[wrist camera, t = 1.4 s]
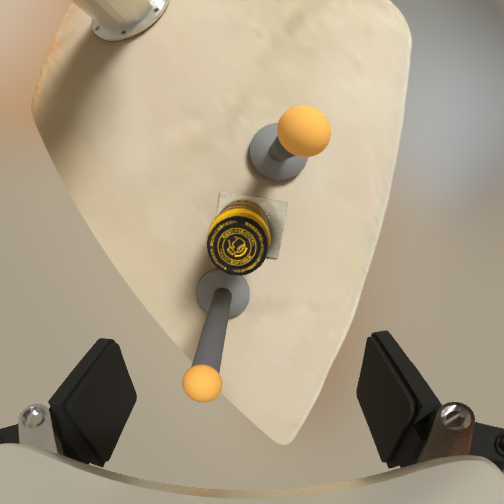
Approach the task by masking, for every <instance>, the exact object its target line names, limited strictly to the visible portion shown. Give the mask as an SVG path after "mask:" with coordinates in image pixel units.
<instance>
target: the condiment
mask: <svg viewBox="0 0 504 504" xmlns="http://www.w3.org/2000/svg"><path fill="white" fill-rule="evenodd" d="M287 205H288V202H282V201H277V200H271V199H264V198H258V197H252V196H246V195H239V194H232V193H225V192H220V195H219V203H218V210H217V217H216V218H215V219H214V221H213V222H212V224H211V226H210V229H209V233H208V241H207V249H208V253H209V256H210V258H211V260H212V262H213V263H214V265H215V266H216V267H217V268H219V269H220V270H222V271H223V272H225V273H227V274H230V275H246V274H249V273H251V272H253V271H254V270H256V269H257V268H258V267H260V266H261V265H262V263H263V262H264V260H265V258H266V257H270V258H277V259H278V255H279V249H280V243H281V238H282V232H283V226H284V222H285V216H286V210H287ZM266 213H267V214H268V215H266ZM268 216H270V218H269V217H268Z"/></svg>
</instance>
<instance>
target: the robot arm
mask: <svg viewBox="0 0 504 504" xmlns="http://www.w3.org/2000/svg"><path fill="white" fill-rule="evenodd" d="M70 1H71V2H73V3H74V4H75V5H77V6H78V7H79V8H80V9H82V10H83V11H84V12H86V13H87V14H88V15H89V16H91V17H92V29H93V31H94V33H95V34H96V35H97V36H99V37H100V38H102V39H104V40H107V41H117V40H123V39H127V38H129V37H132V36H134V35H137V34H138V33H140V32H142V31H144V30H145V29H147V28H148V27H150V26H151V25H152V24H153V23H154V22H155V21H157V19H158V18H159V17H160V16H161V15H162V14H163V12H164V11H165V9H166V7H167V5H168V3H169V0H70ZM357 398H358V400H359V403H360V406H361V408H362V411H363V413H364V416H365V418H366V421H367V424H368V426H369V428H370V431H371V434H372V437H373V439H374V442H375V445H376V447H377V450H378V453H379V455H380V458H381V461H382V462H384V463H385V462H386V463H387V465H388V468H389V469H390V468H393V467H396V466H399V465H400V467H401V468H399V469H395V470H392V471H388V472H385V473H381V474H377V475H373V476H368V477H364V478H359V479H355V480H349V481H344V482H339V483H333V484H327V485H320V486H313V487H304V488H293V489H280V490H218V489H217V490H216V489H204V488H194V487H185V486H177V485H171V484H165V483H159V482H154V481H148V480H144V479H139V478H134V477H130V476H126V475H122V474H118V473H115V472H111V471H107V470H104V469H101V468H97V467H94V466H91V465H89V463H91V464H94V465H97V466H100V467H103V466H104V464H105V462H106V461H109V459H110V457H111V455H112V453H113V450H114V448H115V446H116V444H117V442H118V439H119V437H120V435H121V433H122V430H123V428H124V426H125V424H126V421H127V420H128V417H129V415H130V413H131V411H132V409H133V406H134V405H135V402H136V399H137V395H136V391H135V389H134V386H133V384H132V381H131V378H130V376H129V373H128V370H127V367H126V365H125V362H124V359H123V356H122V353H121V350H120V347H119V345H118V344H117V343H116V342H115V341H114V340H113V339H105V338H100V339H98V340H97V342H96V343H95V344H94V345H93V347H92V348H91V349H90V350H89V351H88V352H87V354H86V355H85V356H84V357H83V358H82V360H81V361H80V362H79V363H78V365H77V366H76V367H75V368H74V369H73V371H72V372H71V373H70V375H69V376H68V377H67V378H66V379H65V381H64V382H63V383H62V385H61V386H60V387H59V388H58V390H57V391H56V392H55V394H54V395H53V396H52V397H51V399H50V400H49V401H48V402H49V404H50V406H51V407H50V408H49V409H48V408H47V407H46V406H44V405H42V404H33V405H30V406H28V407H26V408H25V409H24V410H23V411H22V412H21V413H20V415H19V419H18V424H16V425H13V426H9V427H6V428H2V429H0V504H504V429H503V428H498V427H493V426H489V425H485V424H481V423H477V422H475V416H474V413H473V411H472V410H471V409H470V407H468V406H467V405H465V404H463V403H460V402H449V403H446V404H444V405H441V403H440V401H439V400H438V398H437V397H436V396H435V394H434V393H433V391H432V390H431V388H430V387H429V385H428V384H427V382H426V381H425V380H424V378H423V377H422V375H421V374H420V373H419V371H418V370H417V368H416V367H415V366H414V364H413V363H412V362H411V361H410V360H409V358H408V357H407V356H406V354H405V353H404V352H403V350H402V349H401V347H400V346H399V345H398V343H397V342H396V341H395V340H394V338H393V337H392V335H391V334H390V333H389V332H388V331H380V332H374V333H372V335H371V337H368V338H367V342H366V348H365V353H364V358H363V363H362V368H361V373H360V377H359V382H358V386H357Z"/></svg>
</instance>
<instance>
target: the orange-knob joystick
mask: <svg viewBox="0 0 504 504" xmlns="http://www.w3.org/2000/svg"><path fill="white" fill-rule="evenodd" d="M197 299H198V302H199V304H200V306H201V307H202V309H203V310H204V311H205V312H206V313H208V314H207V317H206V321H205V324H204V327H203V330H202V334H201V337H200V340H199V344H198V347H197V350H196V354H195V357H194V360H193V364H192V367H191V368H190V369H188V370H187V371H186V373H185V374H184V377H183V388H184V391H185V393H186V394H187V395H188V396H189V397H190V398H191V399H193V400H195V401H197V402H209V401H211V400H213V399H215V398H216V397H217V396H218V395H219V394H220V392H221V389H222V379H221V377H220V375H219V371H220V365H221V359H222V353H223V346H224V340H225V334H226V328H227V322H228V318H233V317H235V316H237V315H239V314H241V313H242V312H243V311H244V310H245V308H246V307H247V305H248V302H249V287H248V284H247V282H246V281H245V279H244V278H243V277H242V276H241V275H230V274H227V273H225V272H223V271H222V270H220V269H215V270H212V271H210V272H208V273H207V274H206V275H205V276H204V277H203V278H202V279H201V281H200V283H199V285H198V288H197Z"/></svg>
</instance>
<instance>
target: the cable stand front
mask: <svg viewBox="0 0 504 504" xmlns="http://www.w3.org/2000/svg"><path fill="white" fill-rule="evenodd" d="M330 137H331V127H330V124H329V121H328V119H327V118H326V116H325V115H324V114H323V113H322V112H321V111H319V110H318V109H316V108H314V107H311V106H306V105H300V106H295V107H292V108H290V109H289V110H287V111H286V112H285V113H284V114H283V115H282V116H281V118H280V120H279V122H278V123H275V124H270V125H267V126H265V127H263V128H261V129H260V130H259V131H258V132H257V133H256V134H255V135H254V137H253V139H252V141H251V144H250V158H251V161H252V164H253V166H254V167H255V169H256V170H257V171H258V172H259V173H260V174H262V175H263V176H265V177H267V178H269V179H273V180H286V179H290V178H292V177H294V176H296V175H297V174H298V173H300V172H301V170H302V169H303V168H304V166H305V164H306V162H307V159H308V157H311V156H314V155H317V154H319V153H320V152H322V151H323V150H324V149H325V148H326V146H327V145H328V143H329V141H330Z"/></svg>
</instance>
